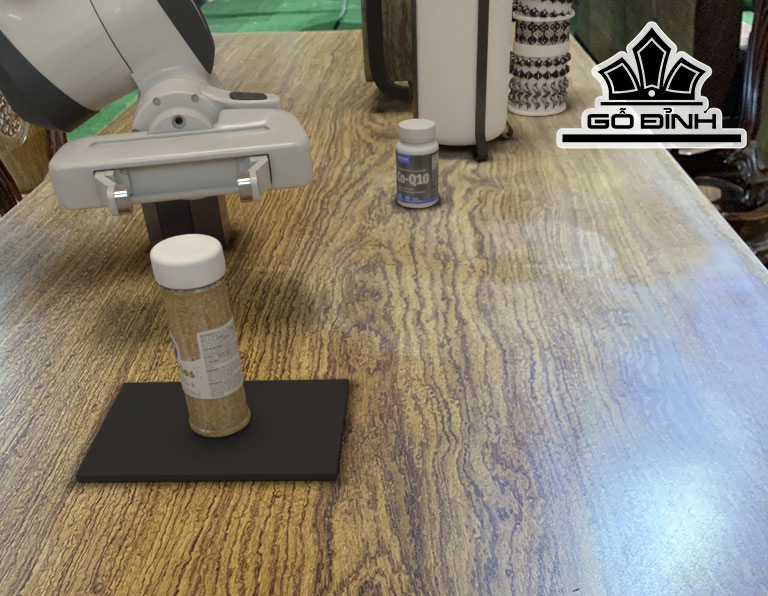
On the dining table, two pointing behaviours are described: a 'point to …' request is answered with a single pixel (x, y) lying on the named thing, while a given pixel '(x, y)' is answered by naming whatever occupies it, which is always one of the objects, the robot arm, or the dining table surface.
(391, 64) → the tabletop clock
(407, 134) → the pill bottle
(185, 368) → the sprinkles bottle
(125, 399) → the mat
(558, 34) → the decorative candle
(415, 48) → the coffee press
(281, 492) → the dining table surface
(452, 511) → the dining table surface
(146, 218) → the pen cup
